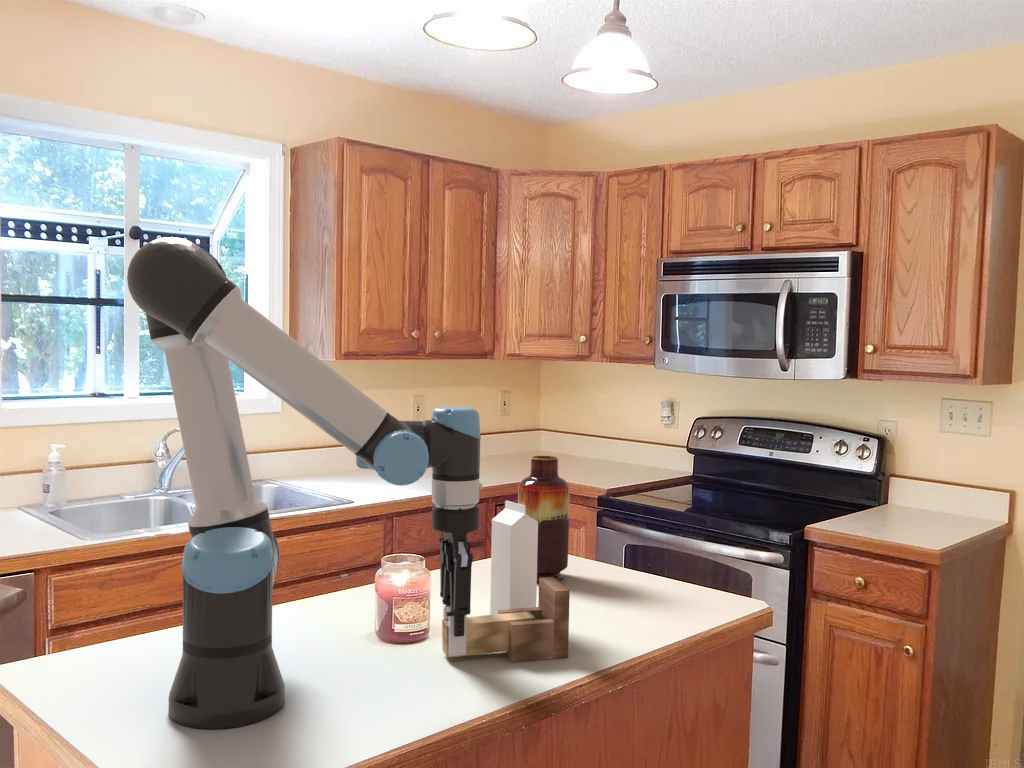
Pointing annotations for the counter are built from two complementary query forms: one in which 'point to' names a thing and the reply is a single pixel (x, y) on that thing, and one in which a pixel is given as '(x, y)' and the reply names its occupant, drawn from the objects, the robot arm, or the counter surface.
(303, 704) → the counter surface
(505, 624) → the wooden block
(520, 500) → the vase
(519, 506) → the milk
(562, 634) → the brown wooden blocks
